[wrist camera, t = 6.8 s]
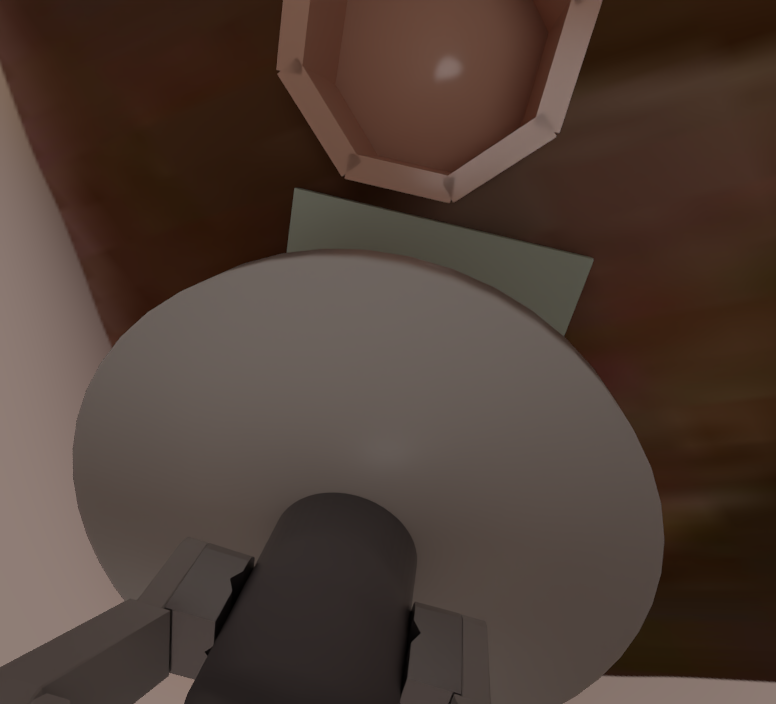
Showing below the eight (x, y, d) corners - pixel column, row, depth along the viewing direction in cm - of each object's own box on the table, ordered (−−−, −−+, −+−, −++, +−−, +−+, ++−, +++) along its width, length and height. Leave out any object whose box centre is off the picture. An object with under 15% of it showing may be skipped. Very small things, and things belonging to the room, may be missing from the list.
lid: (762, 335, 9) (1083, 527, 4) (536, 745, 15) (569, 1026, 10) (90, 184, 10) (-246, 207, 5) (116, 623, 16) (-36, 826, 11)
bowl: (596, -57, 20) (647, -139, 14) (515, 208, 24) (530, 222, 19) (346, -107, 21) (303, -204, 15) (310, 160, 25) (267, 160, 19)
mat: (591, 257, 25) (593, 259, 24) (499, 494, 31) (500, 500, 30) (298, 187, 26) (294, 188, 25) (267, 431, 32) (264, 436, 31)
